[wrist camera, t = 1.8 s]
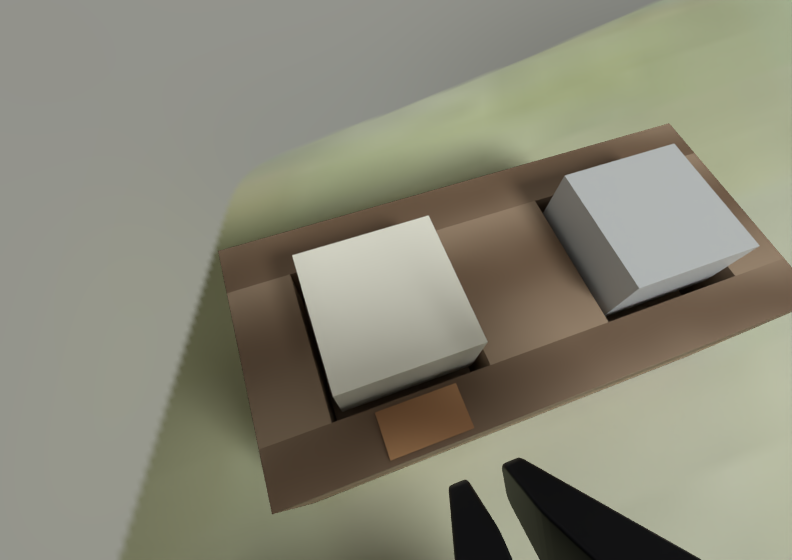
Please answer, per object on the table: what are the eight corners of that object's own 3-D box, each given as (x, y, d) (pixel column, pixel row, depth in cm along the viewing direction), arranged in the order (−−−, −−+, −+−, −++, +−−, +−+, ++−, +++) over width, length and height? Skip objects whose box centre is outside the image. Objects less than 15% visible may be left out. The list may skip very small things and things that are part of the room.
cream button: (471, 365, 16) (487, 341, 14) (342, 411, 16) (332, 396, 13) (422, 254, 19) (428, 215, 16) (306, 290, 18) (291, 255, 15)
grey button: (704, 281, 18) (759, 245, 16) (600, 319, 17) (639, 288, 15) (635, 188, 20) (674, 143, 18) (540, 218, 19) (564, 175, 17)
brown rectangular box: (689, 355, 24) (824, 298, 17) (312, 503, 20) (270, 514, 13) (596, 215, 28) (671, 120, 21) (267, 319, 24) (216, 248, 17)
